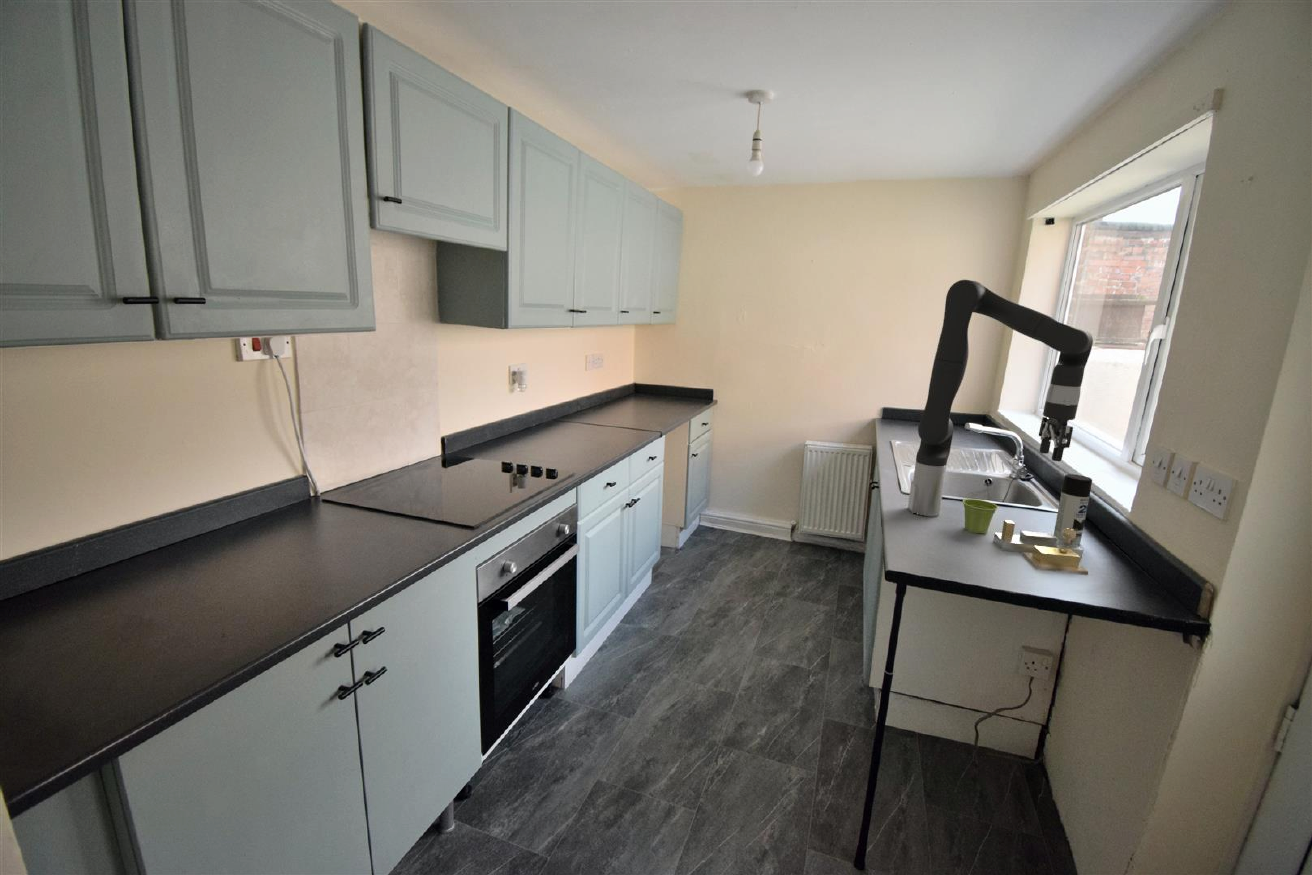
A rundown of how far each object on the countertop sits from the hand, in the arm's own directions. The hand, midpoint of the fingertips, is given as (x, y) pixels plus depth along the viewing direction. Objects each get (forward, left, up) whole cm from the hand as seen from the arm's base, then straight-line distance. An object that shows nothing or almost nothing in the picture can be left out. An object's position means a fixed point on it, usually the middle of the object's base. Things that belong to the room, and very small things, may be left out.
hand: (1049, 456), depth 161 cm
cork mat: (-1, -17, -26) cm, 31 cm away
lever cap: (-1, -17, -25) cm, 30 cm away
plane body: (-2, -7, -26) cm, 27 cm away
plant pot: (-14, +4, -26) cm, 30 cm away
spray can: (+10, +2, -26) cm, 28 cm away
